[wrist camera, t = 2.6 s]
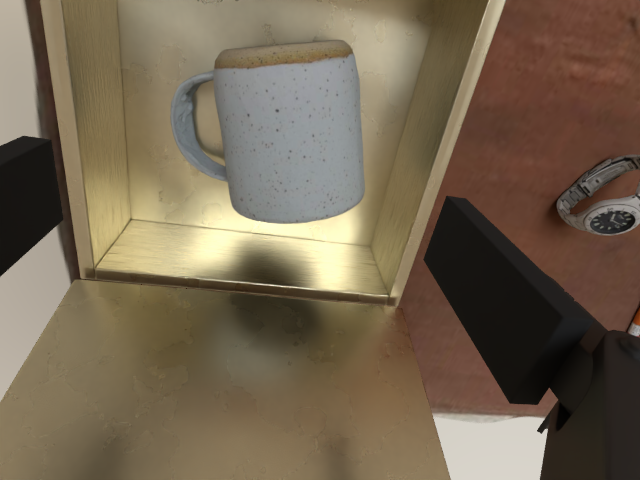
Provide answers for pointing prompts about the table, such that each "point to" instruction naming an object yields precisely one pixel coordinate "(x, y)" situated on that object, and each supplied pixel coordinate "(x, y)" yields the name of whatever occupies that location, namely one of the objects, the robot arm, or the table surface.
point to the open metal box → (200, 189)
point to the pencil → (635, 325)
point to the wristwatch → (607, 213)
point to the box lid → (218, 391)
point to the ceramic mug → (282, 130)
